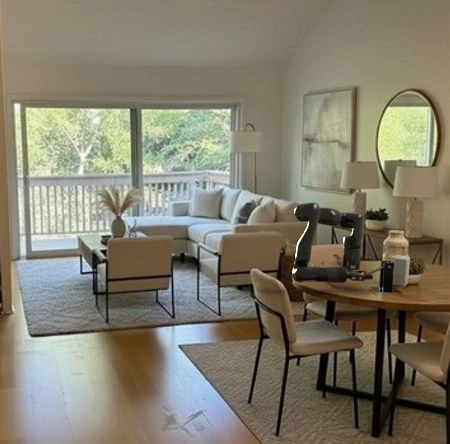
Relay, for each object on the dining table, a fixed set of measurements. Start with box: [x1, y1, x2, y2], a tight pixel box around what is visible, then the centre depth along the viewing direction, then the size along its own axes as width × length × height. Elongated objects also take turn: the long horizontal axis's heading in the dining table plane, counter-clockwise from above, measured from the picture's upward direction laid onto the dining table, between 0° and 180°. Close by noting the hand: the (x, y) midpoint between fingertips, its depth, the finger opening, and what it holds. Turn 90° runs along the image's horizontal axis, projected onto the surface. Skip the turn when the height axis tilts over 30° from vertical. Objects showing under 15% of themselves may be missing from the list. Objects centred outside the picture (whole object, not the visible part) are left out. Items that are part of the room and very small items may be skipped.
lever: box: [362, 262, 389, 275], centre depth 271 cm, size 14×4×4 cm, turn 88°
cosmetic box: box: [393, 254, 411, 287], centre depth 282 cm, size 8×6×15 cm
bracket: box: [369, 260, 403, 294], centre depth 271 cm, size 12×10×15 cm
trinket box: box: [311, 261, 334, 268], centre depth 296 cm, size 11×11×9 cm
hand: (369, 275), depth 271 cm, fingers open, 8 cm apart
